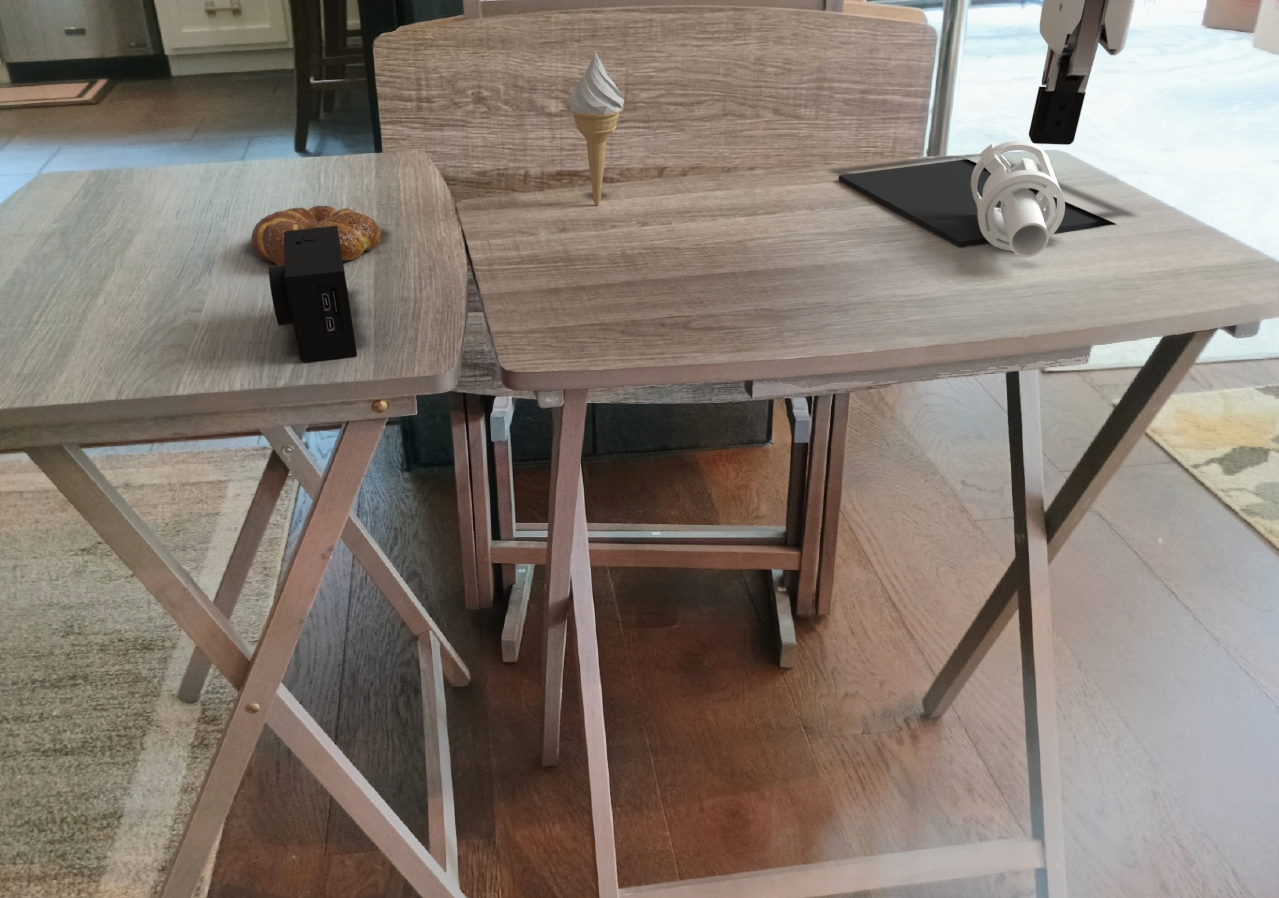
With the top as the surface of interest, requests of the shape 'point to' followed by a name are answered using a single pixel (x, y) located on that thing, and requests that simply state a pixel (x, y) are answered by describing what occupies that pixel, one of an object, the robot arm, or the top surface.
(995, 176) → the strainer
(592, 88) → the ice cream cone
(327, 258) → the digital camera
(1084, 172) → the top surface
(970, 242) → the mat
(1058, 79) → the robot arm
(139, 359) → the top surface
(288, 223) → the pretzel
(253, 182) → the top surface
